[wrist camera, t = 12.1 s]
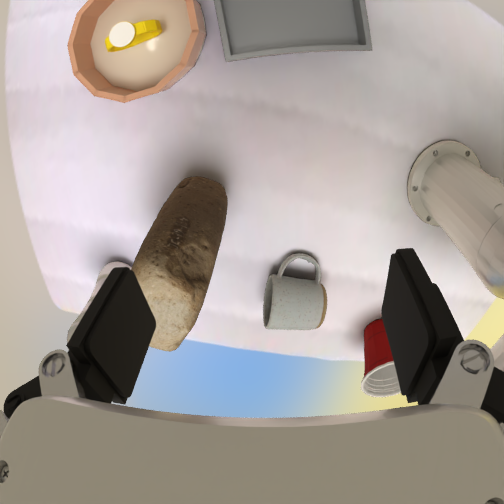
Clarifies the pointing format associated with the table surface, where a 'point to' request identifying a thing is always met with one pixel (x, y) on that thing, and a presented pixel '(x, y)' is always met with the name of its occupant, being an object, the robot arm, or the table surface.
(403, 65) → the table surface
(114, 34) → the watch
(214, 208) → the stone
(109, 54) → the bowl
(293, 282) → the ceramic mug
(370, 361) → the plastic cup
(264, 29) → the parts tray
